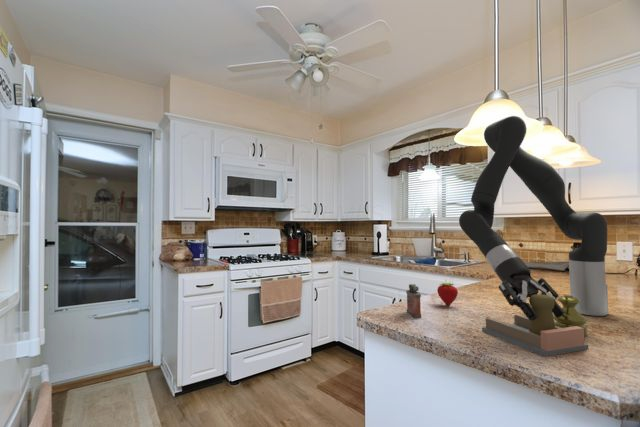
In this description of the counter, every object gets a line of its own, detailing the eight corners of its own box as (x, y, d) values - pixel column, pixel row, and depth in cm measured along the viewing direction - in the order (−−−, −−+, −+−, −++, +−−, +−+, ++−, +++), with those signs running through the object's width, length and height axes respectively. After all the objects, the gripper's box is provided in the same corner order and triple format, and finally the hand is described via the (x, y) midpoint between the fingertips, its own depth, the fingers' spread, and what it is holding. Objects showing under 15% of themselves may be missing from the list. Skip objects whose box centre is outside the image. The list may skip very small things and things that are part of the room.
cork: (563, 344, 76) (561, 298, 76) (535, 343, 77) (533, 297, 77) (550, 336, 81) (548, 292, 82) (524, 334, 83) (522, 292, 83)
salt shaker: (582, 329, 89) (580, 293, 89) (591, 338, 82) (590, 299, 83) (550, 326, 92) (549, 291, 92) (557, 334, 85) (555, 297, 86)
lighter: (404, 311, 109) (404, 282, 110) (414, 311, 110) (413, 282, 110) (413, 318, 101) (412, 287, 102) (423, 318, 102) (422, 286, 102)
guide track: (521, 326, 93) (520, 308, 93) (588, 348, 75) (587, 327, 76) (482, 331, 89) (481, 313, 89) (543, 356, 72) (542, 333, 72)
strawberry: (451, 309, 111) (451, 280, 112) (433, 305, 118) (433, 277, 118) (462, 306, 115) (461, 279, 115) (443, 302, 121) (443, 276, 121)
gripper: (493, 257, 85) (535, 311, 73) (535, 255, 89) (580, 306, 77) (479, 274, 90) (516, 327, 78) (519, 271, 94) (559, 322, 82)
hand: (548, 317), depth 78 cm, fingers open, 8 cm apart
